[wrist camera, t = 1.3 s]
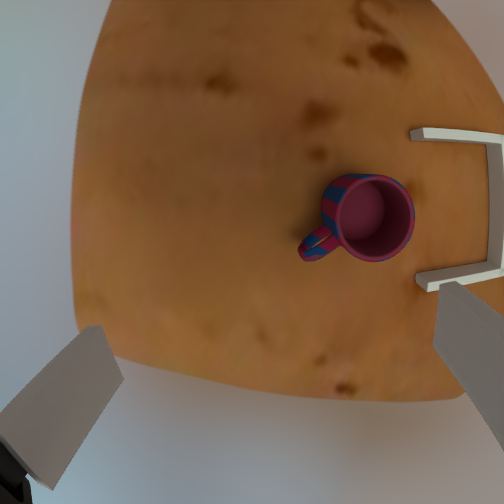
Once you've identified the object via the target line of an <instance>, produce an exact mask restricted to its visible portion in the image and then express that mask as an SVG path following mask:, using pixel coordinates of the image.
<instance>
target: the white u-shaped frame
mask: <svg viewBox="0 0 504 504" xmlns="http://www.w3.org/2000/svg"><path fill="white" fill-rule="evenodd" d="M410 138H411V141H445V142H463V143H476V144H486V150H487V160H488V174H489V239H488V253H487V261H485V262H479V263H474V264H468V265H462V266H457V267H451V268H445V269H439V270H432V271H426V272H420V273H416V280H415V282H416V283H418V284H419V285H420V286H421V287H422V288H423V289H424V290H425V291H427V292H430V291H435V290H439V284H442V283H447V282H451V281H457V282H458V283H459V284H461V285H465V284H470V283H475V282H479V281H484V280H488V279H492V278H497V277H501V276H504V135H499V134H492V133H484V132H476V131H466V130H455V129H441V128H419V129H415V130H411V131H410Z"/></svg>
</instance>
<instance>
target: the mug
mask: <svg viewBox="0 0 504 504" xmlns="http://www.w3.org/2000/svg"><path fill="white" fill-rule="evenodd" d="M321 214H322V218H323V221H324V224H322V225H321V226H319V227H318V228H317V229H316V230H314V231H313V232H312V233H310V234H309V235H308V236H307V237H306V238H305V239H303V241H302V242H301V243H300V245H299V247H298V253H299V255H300V257H301V258H302V259H303V260H304V261H315V260H318V259H320V258H322V257H324V256H325V255H327V254H329V253H330V252H332V251H333V250H334V249H336V248H337V247H338V246H339V245H340V246H343V247H344V248H345V249H346V250H347V251H348V252H349V253H350V254H352V255H353V256H354V257H356V258H358V259H361V260H364V261H368V262H379V261H384V260H387V259H389V258H391V257H393V256H395V255H396V254H397V253H399V252H400V251H401V250H402V249H403V248H404V247H405V245H406V244H407V242H408V241H409V239H410V237H411V235H412V232H413V228H414V223H415V211H414V206H413V202H412V200H411V197H410V196H409V194H408V192H407V191H406V189H405V188H404V187H403V186H402V185H401V184H400V183H399V182H397V181H396V180H394V179H392V178H390V177H387V176H384V175H374V174H347V175H344V176H341V177H339V178H337V179H336V180H335V181H333V182H332V183H331V184H330V185H329V186H328V188H327V189H326V191H325V193H324V195H323V198H322V202H321ZM329 234H331V235H330V236H329V237H328V238H326V239H325V240H324V241H323V242H321V243H320V244H318V245H316V246H315V247H313V248H311V247H312V246H313V245H315V244H316V243H317V242H318V241H320V240H321V239H323V238H324V237H326V236H328V235H329Z"/></svg>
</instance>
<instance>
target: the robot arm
mask: <svg viewBox="0 0 504 504" xmlns="http://www.w3.org/2000/svg"><path fill="white" fill-rule="evenodd" d="M432 347H433V348H434V349H435V350H436V352H437V353H438V354H439V356H440V357H441V358H442V360H443V361H444V362H445V364H446V365H447V366H448V368H449V369H450V371H451V372H452V373H453V375H454V376H455V377H456V379H457V380H458V382H459V383H460V384H461V386H462V387H463V389H464V390H465V392H466V393H467V394H468V396H469V397H470V399H471V400H472V402H473V403H474V405H475V406H476V408H477V409H478V411H479V412H480V414H481V415H482V417H483V418H484V420H485V421H486V423H487V425H488V426H489V428H490V429H491V431H492V432H493V434H494V436H495V437H496V439H497V441H498V442H499V444H500V446H501V447H502V449H503V451H504V317H503V316H502V315H500V314H499V313H498V312H497V311H495V310H494V309H493V308H492V307H490V306H489V305H488V304H486V303H485V302H484V301H482V300H481V299H480V298H478V297H477V296H476V295H474V294H473V293H472V292H470V291H469V290H468V289H466V288H465V287H464V286H462V285H461V284H459V283H458V282H457V281H451V282H447V283H442V284H439V297H438V308H437V317H436V325H435V332H434V339H433V346H432ZM123 380H124V378H123V376H122V373H121V372H120V369H119V367H118V365H117V362H116V360H115V358H114V355H113V353H112V351H111V348H110V346H109V343H108V341H107V339H106V336H105V333H104V331H103V328H102V326H87V327H86V328H85V329H84V330H83V331H82V332H81V333H80V334H79V335H78V336H77V337H76V338H75V339H73V340H72V341H71V342H70V343H69V344H68V345H67V346H66V347H65V348H64V349H63V350H62V351H61V352H60V353H59V354H58V355H57V356H56V357H55V358H53V360H51V362H49V363H48V364H47V365H46V366H45V367H44V368H43V369H42V370H41V371H40V372H39V373H38V374H37V375H36V376H35V377H34V378H33V379H32V380H31V381H30V382H29V383H28V384H27V385H26V386H25V388H23V389H22V390H21V391H20V393H19V394H18V395H17V396H16V397H15V398H14V399H13V400H12V401H11V402H10V403H9V404H8V405H7V406H6V407H5V408H4V409H3V410H2V412H0V504H33V503H32V496H31V487H30V483H29V481H28V479H27V478H26V477H25V476H26V474H27V473H28V474H29V475H30V476H31V477H32V478H33V479H34V480H35V481H36V482H37V483H38V484H40V485H42V486H44V487H46V488H48V489H50V490H52V491H53V489H54V488H55V486H56V484H57V483H58V481H59V479H60V478H61V476H62V474H63V473H64V471H65V470H66V468H67V466H68V465H69V463H70V462H71V460H72V458H73V457H74V455H75V454H76V452H77V450H78V449H79V447H80V446H81V444H82V442H83V441H84V439H85V438H86V436H87V435H88V433H89V431H90V430H91V428H92V427H93V425H94V424H95V422H96V421H97V419H98V418H99V416H100V415H101V413H102V411H103V410H104V408H105V407H106V405H107V404H108V402H109V401H110V399H111V398H112V396H113V395H114V393H115V392H116V390H117V389H118V387H119V386H120V384H121V383H122V381H123Z"/></svg>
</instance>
